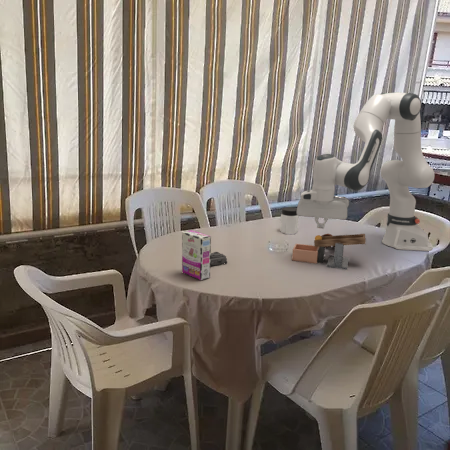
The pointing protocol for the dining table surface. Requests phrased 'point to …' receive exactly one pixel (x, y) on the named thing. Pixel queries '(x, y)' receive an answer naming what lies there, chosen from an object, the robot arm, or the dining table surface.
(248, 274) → the dining table surface
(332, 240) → the brown wooden tray
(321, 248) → the stand
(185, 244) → the candy bar box
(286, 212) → the jar
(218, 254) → the tank toy
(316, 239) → the ball
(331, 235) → the pottery mug
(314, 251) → the pink open box
